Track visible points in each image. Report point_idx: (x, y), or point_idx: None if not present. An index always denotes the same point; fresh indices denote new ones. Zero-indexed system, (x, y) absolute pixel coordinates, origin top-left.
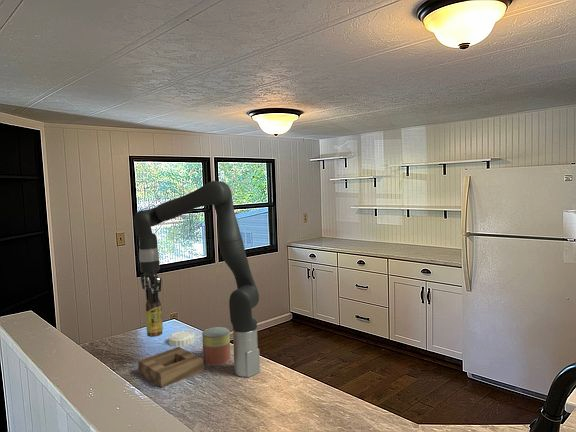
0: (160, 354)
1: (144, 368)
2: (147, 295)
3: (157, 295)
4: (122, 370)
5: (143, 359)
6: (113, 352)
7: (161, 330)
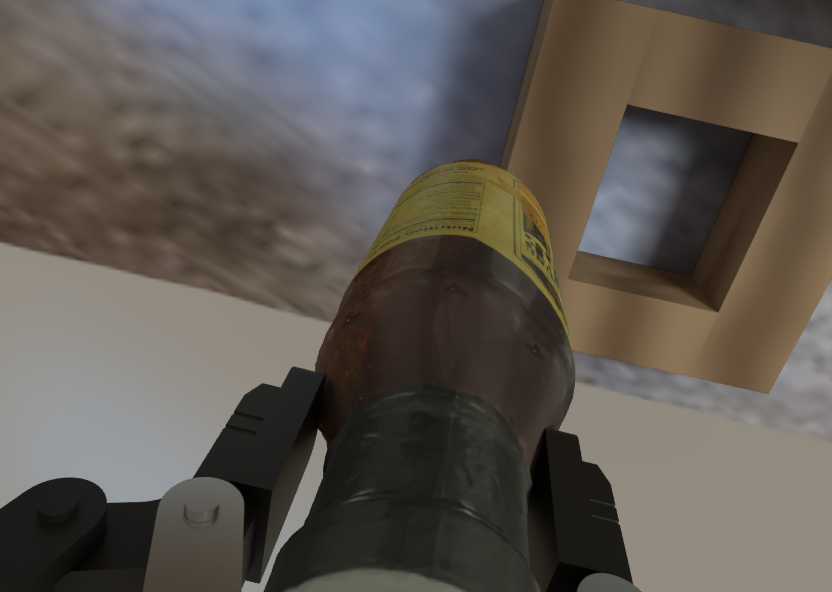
0: (530, 185)
1: None
2: (286, 505)
3: (620, 559)
4: None
5: None
6: (44, 168)
7: (545, 221)
